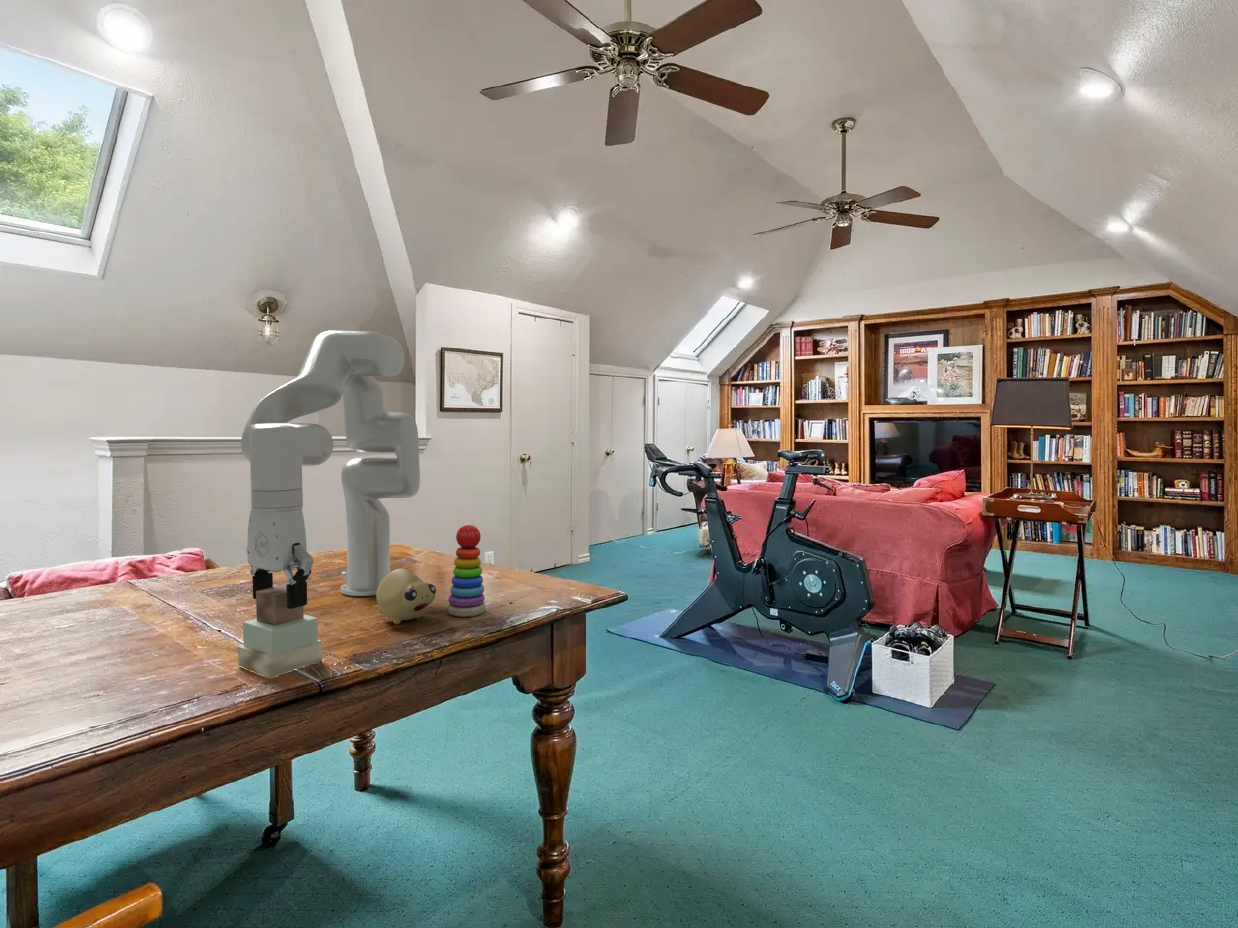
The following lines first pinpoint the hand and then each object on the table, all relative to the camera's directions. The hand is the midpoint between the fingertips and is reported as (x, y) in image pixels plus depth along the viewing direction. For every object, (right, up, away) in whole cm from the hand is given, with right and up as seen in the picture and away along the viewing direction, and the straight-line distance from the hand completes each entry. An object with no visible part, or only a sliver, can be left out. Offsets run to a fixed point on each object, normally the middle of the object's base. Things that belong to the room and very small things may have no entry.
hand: (279, 601), depth 108 cm
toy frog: (+13, -9, +24) cm, 29 cm away
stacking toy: (+24, -9, +30) cm, 40 cm away
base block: (0, -11, +1) cm, 11 cm away
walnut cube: (0, -3, 0) cm, 3 cm away
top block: (0, -7, 0) cm, 7 cm away
